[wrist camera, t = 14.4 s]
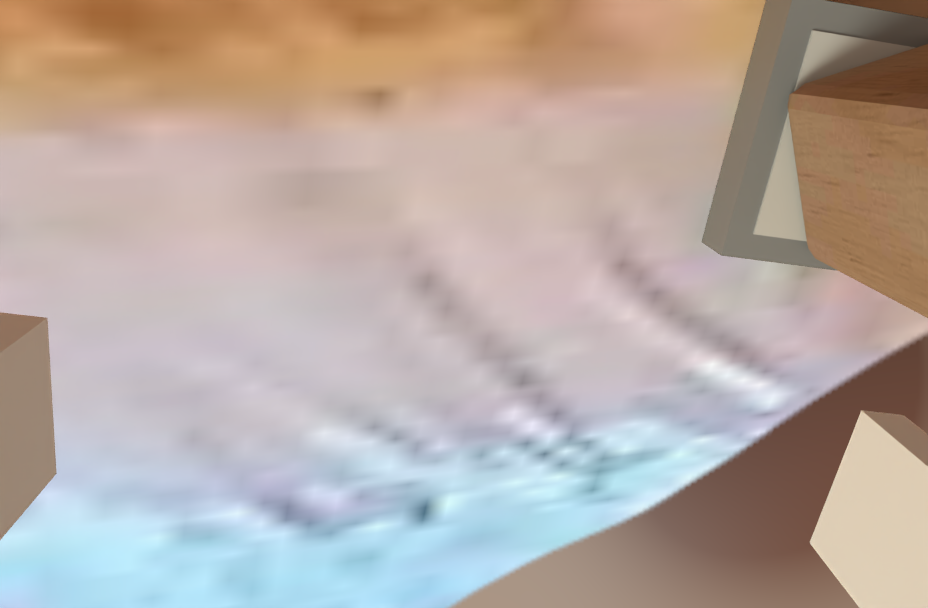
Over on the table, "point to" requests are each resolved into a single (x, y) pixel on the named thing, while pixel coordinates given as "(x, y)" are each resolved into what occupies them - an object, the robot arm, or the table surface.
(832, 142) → the wooden block
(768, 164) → the slate base
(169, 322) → the table surface
